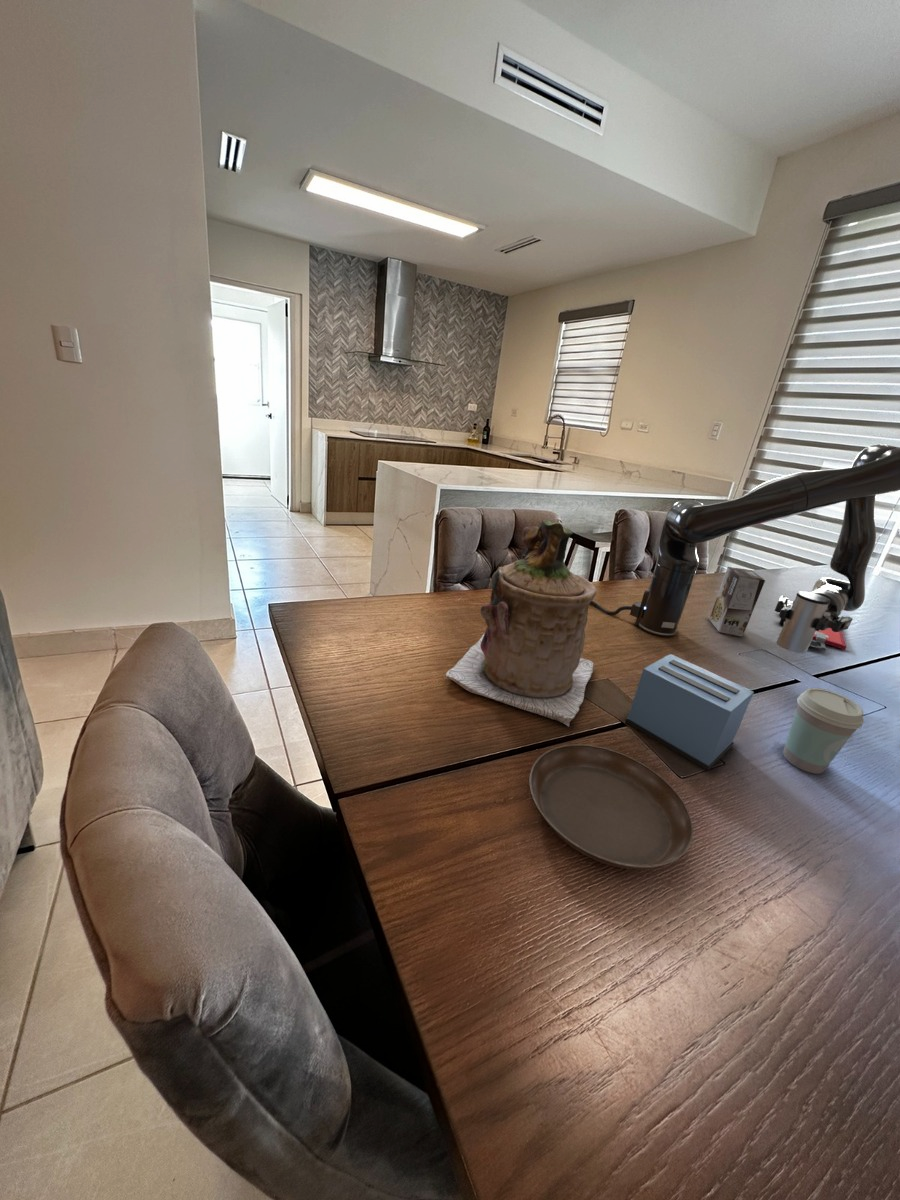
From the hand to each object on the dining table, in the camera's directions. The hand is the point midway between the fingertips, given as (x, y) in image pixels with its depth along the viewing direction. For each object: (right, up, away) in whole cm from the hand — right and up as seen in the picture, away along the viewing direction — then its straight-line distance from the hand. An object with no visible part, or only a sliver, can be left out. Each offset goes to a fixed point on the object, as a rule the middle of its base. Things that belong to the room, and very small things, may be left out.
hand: (801, 620), depth 98 cm
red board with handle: (+28, -5, +35) cm, 45 cm away
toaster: (-34, -19, -17) cm, 42 cm away
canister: (+1, -6, +4) cm, 7 cm away
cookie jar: (-59, -11, -5) cm, 60 cm away
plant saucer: (-53, -25, -35) cm, 68 cm away
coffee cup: (-15, -23, -20) cm, 33 cm away
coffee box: (+2, -4, +31) cm, 31 cm away
